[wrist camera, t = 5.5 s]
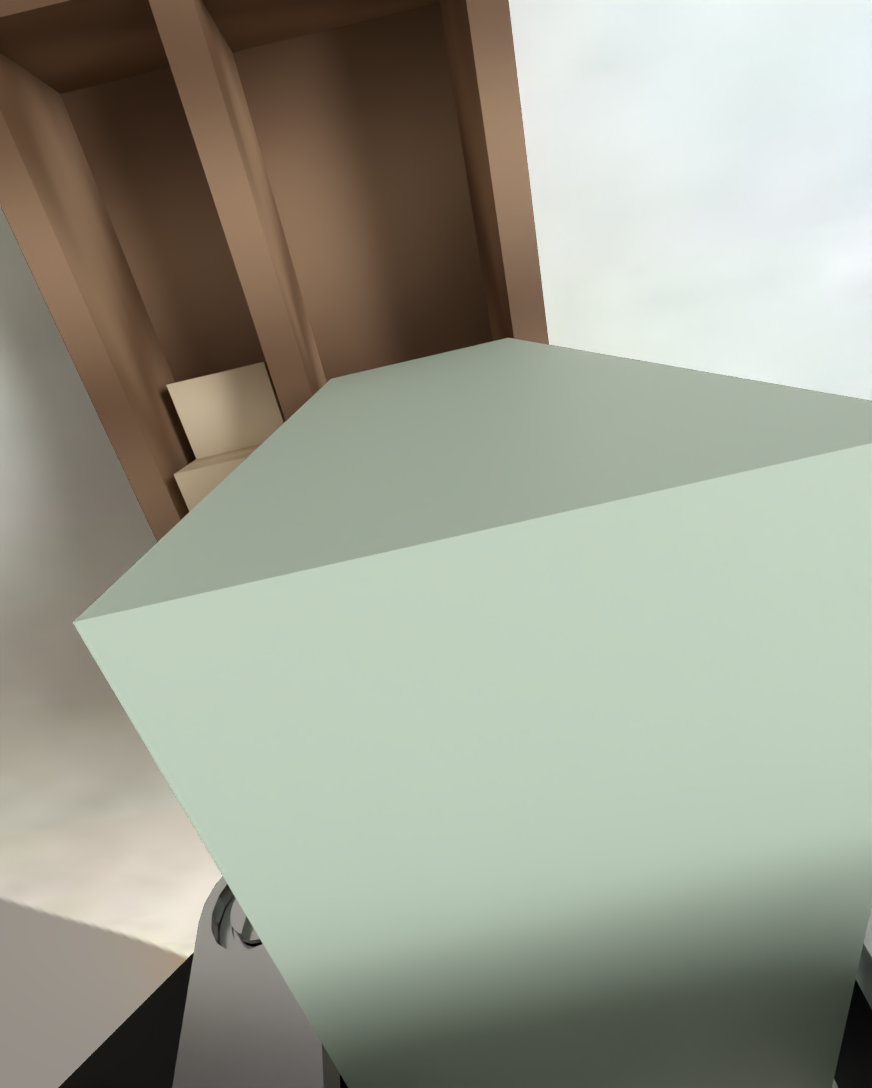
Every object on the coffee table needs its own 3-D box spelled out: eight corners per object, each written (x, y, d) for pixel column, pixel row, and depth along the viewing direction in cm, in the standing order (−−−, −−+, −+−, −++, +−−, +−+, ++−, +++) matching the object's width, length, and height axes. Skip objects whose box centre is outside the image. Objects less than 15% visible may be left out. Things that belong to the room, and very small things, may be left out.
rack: (42, 81, 13) (-106, -22, 9) (460, -19, 13) (488, -167, 9) (347, 833, 24) (338, 930, 20) (575, 783, 24) (610, 871, 20)
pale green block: (331, 378, 11) (70, 623, 2) (508, 337, 11) (977, 419, 2) (435, 744, 16) (488, 1324, 7) (562, 717, 16) (793, 1266, 7)
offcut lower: (188, 379, 15) (166, 384, 13) (276, 358, 15) (263, 362, 13) (288, 637, 18) (279, 664, 17) (360, 621, 18) (357, 647, 17)
